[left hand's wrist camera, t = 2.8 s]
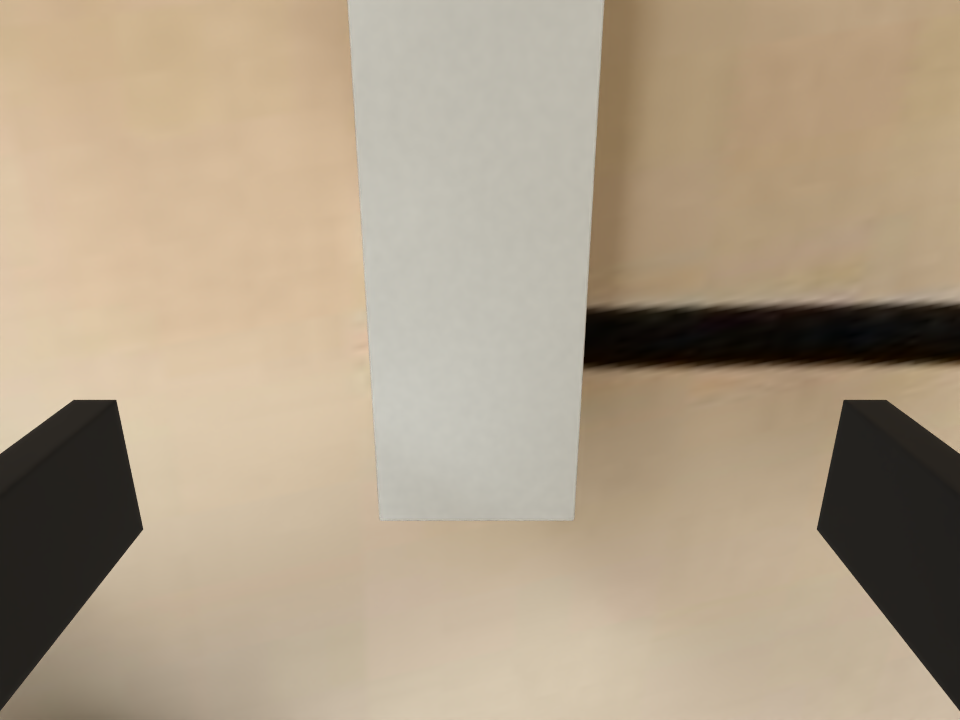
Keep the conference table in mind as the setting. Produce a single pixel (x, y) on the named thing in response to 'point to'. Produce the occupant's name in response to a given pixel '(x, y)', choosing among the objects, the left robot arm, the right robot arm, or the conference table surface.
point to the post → (476, 248)
